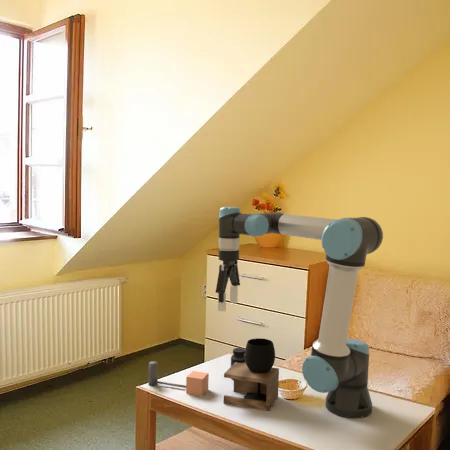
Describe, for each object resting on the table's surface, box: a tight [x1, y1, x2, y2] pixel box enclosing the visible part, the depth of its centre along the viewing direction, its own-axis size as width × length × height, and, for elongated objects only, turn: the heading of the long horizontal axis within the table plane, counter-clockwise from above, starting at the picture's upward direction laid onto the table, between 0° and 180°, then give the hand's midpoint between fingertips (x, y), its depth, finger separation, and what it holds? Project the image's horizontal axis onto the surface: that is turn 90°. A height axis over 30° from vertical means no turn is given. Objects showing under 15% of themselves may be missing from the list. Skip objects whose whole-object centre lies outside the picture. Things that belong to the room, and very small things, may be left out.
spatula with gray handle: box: [148, 360, 209, 397], centre depth 188 cm, size 22×6×8 cm, turn 71°
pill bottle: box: [230, 347, 246, 381], centre depth 199 cm, size 6×6×11 cm
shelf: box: [222, 362, 280, 412], centre depth 179 cm, size 16×12×10 cm
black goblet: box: [243, 337, 276, 402], centre depth 180 cm, size 10×10×20 cm
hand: (227, 306), depth 192 cm, fingers open, 13 cm apart
